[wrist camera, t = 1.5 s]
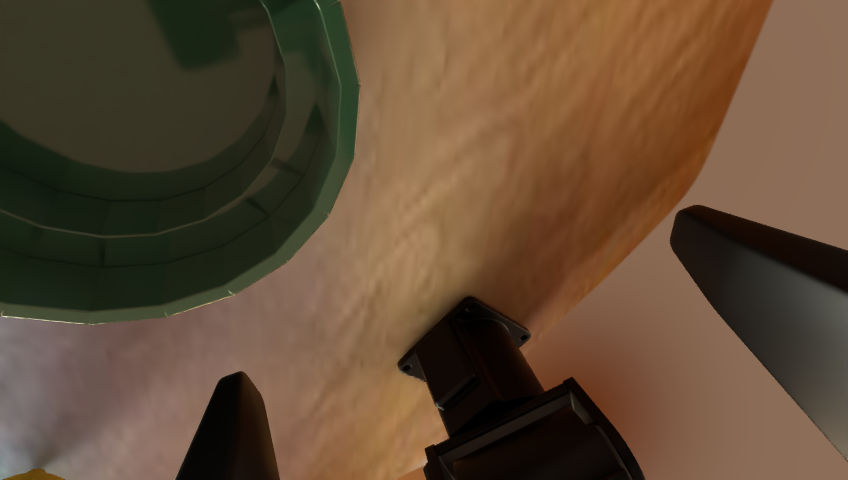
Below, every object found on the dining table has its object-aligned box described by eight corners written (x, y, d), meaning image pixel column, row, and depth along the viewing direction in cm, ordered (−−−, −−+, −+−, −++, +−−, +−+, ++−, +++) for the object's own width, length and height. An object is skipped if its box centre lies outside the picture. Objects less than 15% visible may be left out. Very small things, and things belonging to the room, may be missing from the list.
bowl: (406, 30, 19) (455, 75, 15) (196, 281, 22) (191, 371, 18) (-74, -448, 10) (-263, -643, 6) (-288, 87, 14) (-491, 178, 10)
